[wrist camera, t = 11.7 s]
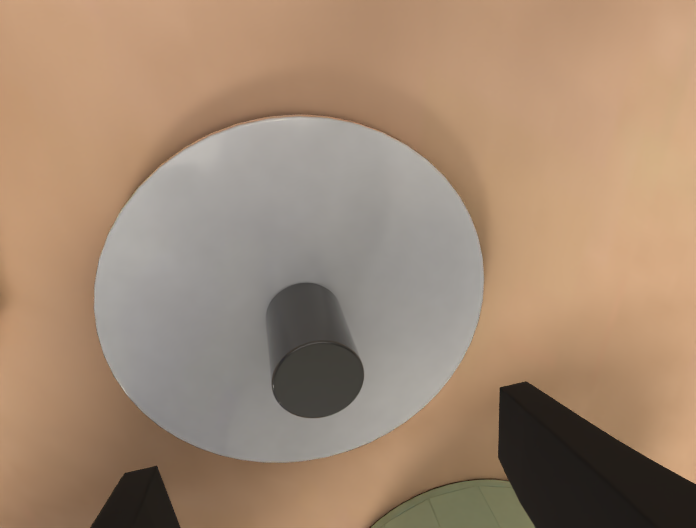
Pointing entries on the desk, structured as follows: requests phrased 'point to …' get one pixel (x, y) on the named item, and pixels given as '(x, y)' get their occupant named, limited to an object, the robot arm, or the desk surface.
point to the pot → (461, 508)
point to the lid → (288, 288)
